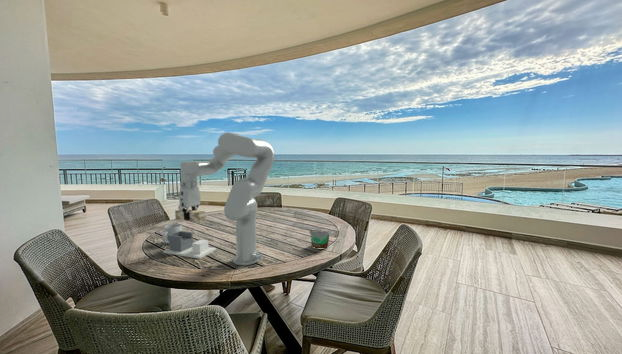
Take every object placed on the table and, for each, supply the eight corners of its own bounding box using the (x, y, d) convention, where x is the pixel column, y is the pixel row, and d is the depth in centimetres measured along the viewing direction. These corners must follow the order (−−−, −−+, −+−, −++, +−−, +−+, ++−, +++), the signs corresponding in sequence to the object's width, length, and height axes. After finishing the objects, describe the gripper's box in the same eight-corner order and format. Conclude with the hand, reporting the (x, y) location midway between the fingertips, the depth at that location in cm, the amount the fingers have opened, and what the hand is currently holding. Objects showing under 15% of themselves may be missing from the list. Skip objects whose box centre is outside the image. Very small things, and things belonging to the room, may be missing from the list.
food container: (306, 249, 129) (306, 231, 129) (309, 245, 135) (309, 228, 134) (328, 251, 126) (329, 233, 126) (330, 247, 132) (330, 230, 132)
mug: (171, 239, 144) (171, 223, 143) (185, 240, 143) (184, 224, 142) (156, 247, 132) (155, 229, 131) (170, 247, 131) (170, 230, 130)
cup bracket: (216, 249, 128) (215, 233, 127) (199, 258, 116) (199, 241, 116) (182, 244, 135) (181, 229, 134) (163, 252, 124) (162, 236, 123)
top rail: (205, 220, 124) (205, 211, 123) (199, 222, 120) (199, 213, 119) (181, 217, 128) (181, 208, 128) (175, 219, 125) (175, 210, 124)
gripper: (181, 186, 113) (183, 223, 115) (206, 183, 129) (207, 215, 131) (169, 186, 116) (171, 222, 117) (195, 182, 132) (196, 214, 133)
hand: (190, 218), depth 124 cm, fingers closed on top rail, 4 cm apart
